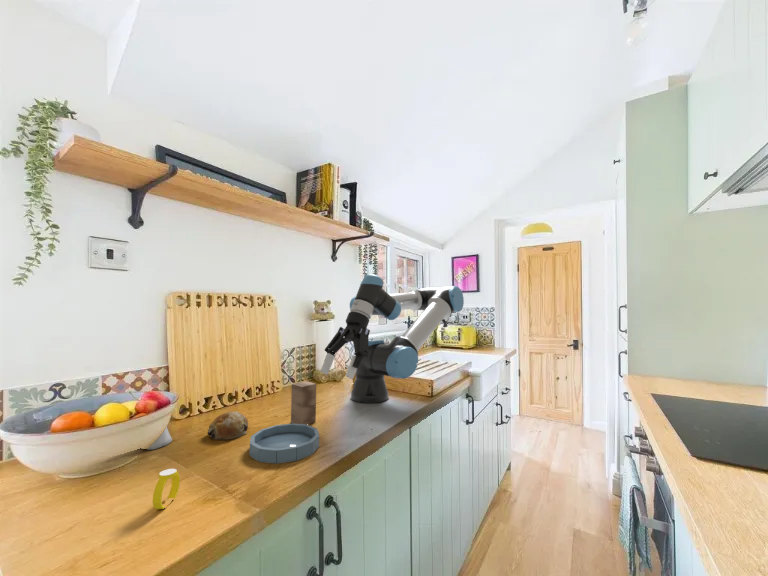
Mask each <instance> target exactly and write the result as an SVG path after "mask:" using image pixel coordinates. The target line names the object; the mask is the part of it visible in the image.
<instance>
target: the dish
mask: <svg viewBox="0 0 768 576" xmlns="http://www.w3.org/2000/svg"><path fill="white" fill-rule="evenodd" d="M249 439H250V440H249V441H250V442H249V457H250V456H251V457H250V458H252V459H254V460H255V461H257V462H258V461H259V463H267V464H284V463H291V462H296V461H300V460H302V459H304V458H307V457H309V456H312V455H313V454H314V453H315V452H316V451H317V449H319V447H320V433H319V430H318V428H317V427H314V426H312V425H310V424H308V425H307V424H294V423H291V422H290V423H284V424H282V423H281V424H274V425H273V426H268V427H265V428H263V429H259V430H258V431H257V432H255V433H254V434H253V435H251V436H250V438H249Z"/></svg>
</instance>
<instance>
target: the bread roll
mask: <svg viewBox="0 0 768 576" xmlns="http://www.w3.org/2000/svg"><path fill="white" fill-rule="evenodd" d="M248 428H249V421H248V418H247V417H246V416H245V415H244V414H243V413H240V411H227V412H223V413H222V414H220V415H218V416H217V417H216V418H214V419H213V421H211V422H210V424H209V426H208V429H207V432H206V433H207V436H210V438H211V439H212V440H217V441H227V440H234V439H238V438H240V437H242V436H245V435H246V434H247V433H248V432H247V431H248Z"/></svg>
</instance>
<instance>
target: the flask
mask: <svg viewBox="0 0 768 576" xmlns="http://www.w3.org/2000/svg"><path fill="white" fill-rule="evenodd" d="M172 441H173V439H172V436H171V434H170V431H169V429H168V427H167V426H166V429H165V430H164V432H163V433H162V435H161V436H160V437H159V438H158V439H157V440H156V441H155V442H154V443H153V444H152V445H151V446H150V447H149V448H148V449H147V450H149V451H150V450H156V449H159V448H162V447H165V446H168V445H169V444H170V443H171V442H172Z"/></svg>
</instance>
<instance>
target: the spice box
mask: <svg viewBox="0 0 768 576" xmlns="http://www.w3.org/2000/svg"><path fill="white" fill-rule="evenodd" d="M290 404H291V405H290V424H291V423H292V424H293V423H294V424H308V425H310V424H314V423H316V422H317V420H316V419H317V415H316V414H317V412H316V411H317V383H315V382H311V381H308V380H305V381H299V382H296V383H291V399H290Z"/></svg>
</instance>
